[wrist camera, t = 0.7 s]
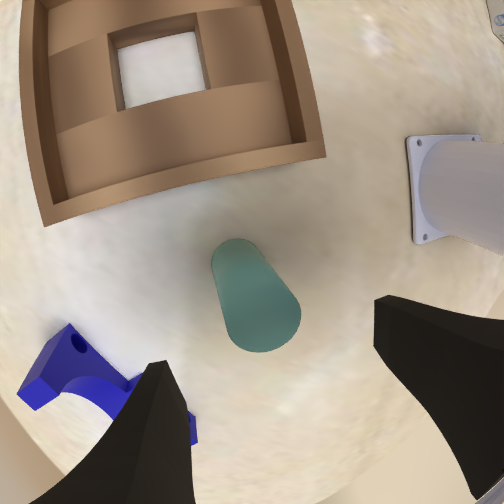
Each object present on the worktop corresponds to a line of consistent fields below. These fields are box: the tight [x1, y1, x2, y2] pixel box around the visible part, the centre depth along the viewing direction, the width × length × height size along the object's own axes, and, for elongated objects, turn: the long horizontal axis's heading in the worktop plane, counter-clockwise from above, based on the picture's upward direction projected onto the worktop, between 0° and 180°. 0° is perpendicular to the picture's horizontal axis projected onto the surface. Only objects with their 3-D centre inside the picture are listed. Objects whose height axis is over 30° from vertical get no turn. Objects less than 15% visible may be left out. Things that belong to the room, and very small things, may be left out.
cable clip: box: [17, 323, 198, 446], centre depth 16 cm, size 12×4×6 cm, turn 33°
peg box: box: [19, 0, 326, 227], centre depth 12 cm, size 13×13×4 cm
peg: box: [212, 239, 301, 352], centre depth 15 cm, size 3×3×7 cm
